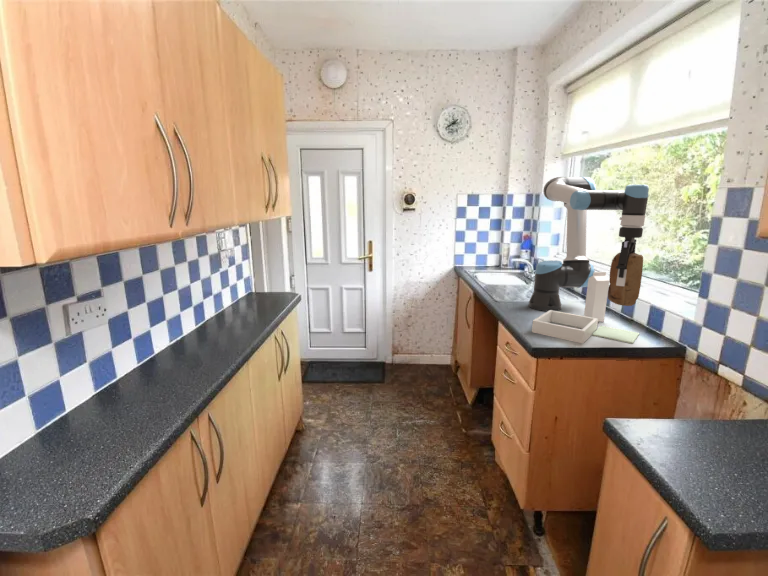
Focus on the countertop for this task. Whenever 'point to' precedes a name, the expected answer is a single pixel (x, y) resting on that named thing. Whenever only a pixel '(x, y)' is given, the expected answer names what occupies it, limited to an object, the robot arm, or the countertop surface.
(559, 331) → the holder
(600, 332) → the mat
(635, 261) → the brown rough stone
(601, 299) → the milk
